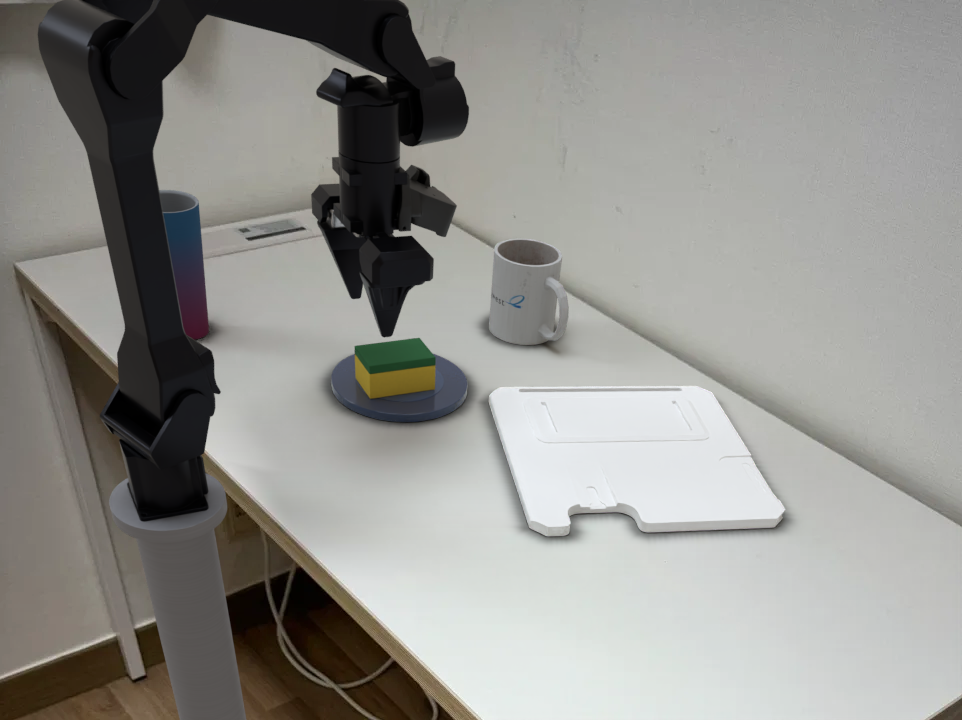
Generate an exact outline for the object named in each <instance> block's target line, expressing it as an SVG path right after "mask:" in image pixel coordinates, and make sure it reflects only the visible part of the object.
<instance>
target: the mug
mask: <svg viewBox="0 0 962 720" xmlns="http://www.w3.org/2000/svg"><path fill="white" fill-rule="evenodd" d="M562 262H563V253H562V252H561V250H560V249H559V248H557V247H556V246H554V245H552V244H550V243H547V242H545V241H541V240H538V239H533V238H532V239H531V238H521V237H520V238H508V239H504V240H501V241H499V242H497V243H496V244H495V246H494V247H493V262H492V275H491V277H492V278H491V288H490V290H491V291H490V306H489V319H488V321H489V323H488V329H489V332H490V333H491V334H492V335H493V336H494V337H496V338H497V339H498V340H500V341H503V342H506V343H510V344H515V345H519V346H520V345H521V346H534V345H540V344H543V343H546V342H549V341H555V342H556V341H558V340H559V339H560V338H561V337H562V336H564V334H565V332H566V329H567V326H568V321H569V314H570V313H569V312H570V311H569V307H570V306H569V300H568V299H569V298H568V294H567V292H566V289H565V287H564V285H563V284H562V283H560V282H561V281H560V280H561V270H562ZM557 304H558V310H559V311H558V312H559V313H558V321H557V326H556V329H555V322H556V314H557V313H556V312H557ZM554 330H555V331H554Z"/></svg>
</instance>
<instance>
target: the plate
mask: <svg viewBox="0 0 962 720" xmlns="http://www.w3.org/2000/svg"><path fill="white" fill-rule="evenodd" d="M432 354H433V355H434V356H435V357H436V363H435V389H434V390H427V391H420V392H414V393H407V394H400V395H393V396H386V397H380V398H373V399H370V398H369V396H368V395H367V394H366V392H365V391H364V389H363V388H362V386H361V385H360V384H359V382H358V381H357V379H356V375H355V353H352V354H350V355H348V356H347V357H344V358H343V359H342V360H341V361H339V362H338V363H337V364H336V365H335V366H334V367H333V369H332V371H331V375H330V384H331V385H330V386H331V390H332V394H333V395H334V397H335V398H336V399H337V401H338V402H340V404H341V405H343V406H344V407H346V408H347V409H349V410H351V411H352V412H355V413H357V414H359V415H361V416H365V417H368V418H371V419H375V420H378V421H385V422H394V423H417V422H426V421H430V420H435V419H438V418H441V417H442V418H443V417H444V416H446V415H449V414H451V413H452V412H454V411H456V410H457V409H459V408H460V407H461V406H462V405H463V403H464V402H465V400H466V399H467V396H468V379H467V377H466V374H465V373H464V372H463V370H462V369H461V368H460V367H459V366H458V365H457V364H456V363H454V362H452V361H451V360H449V359H447V358H445V357H443V356H441V355H438V354H435V353H433V352H432Z"/></svg>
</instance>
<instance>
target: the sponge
mask: <svg viewBox="0 0 962 720" xmlns="http://www.w3.org/2000/svg"><path fill="white" fill-rule="evenodd" d="M353 347H354V354H355V375H356V379H357V381H358V382H359V384H360V385H361V386H362V388H363V389H364V391H365V392H366V394H367V395H368V396H369V398H370V399H373V398H380V397H386V396H393V395H400V394H407V393H414V392H420V391H427V390H434V389H435V363H436V357H435V356H434V355H433V354H434V353H433V352H432V351H431V350H430V348H428V346H427V344H425V342H424V341H423V340H422V338H421V337H414V338H405V339H398V340H390V341H383V342H382V341H381V342H374V343H373V342H372V343H365V344H359V345H354V346H353ZM432 353H433V354H432Z"/></svg>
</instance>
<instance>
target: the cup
mask: <svg viewBox="0 0 962 720" xmlns="http://www.w3.org/2000/svg"><path fill="white" fill-rule="evenodd" d="M159 192H160V198H161V203H162V209H163V215H164V220H165V226H166V232H167V237H168V243H169V249H170V255H171V260H172V266H173V272H174V277H175V283H176V289H177V294H178V300H179V306H180V311H181V317H182V323H183V328H184V331H185V333H186V335H188V336H189V337H191V338H192V339H194V340H195V341H196V340H200V339H202V338H204V337H206V336H207V335H208V334H209V332H210V324H209V313H208V301H207V299H208V298H207V288H206V275H205V274H206V273H205V262H204V251H203V237H202V224H201V213H200V201H199V199H198V198H197V197H196V195H193V194H191V193H188V192H186V191H182V190H176V189H172V190H171V189H159Z"/></svg>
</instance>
